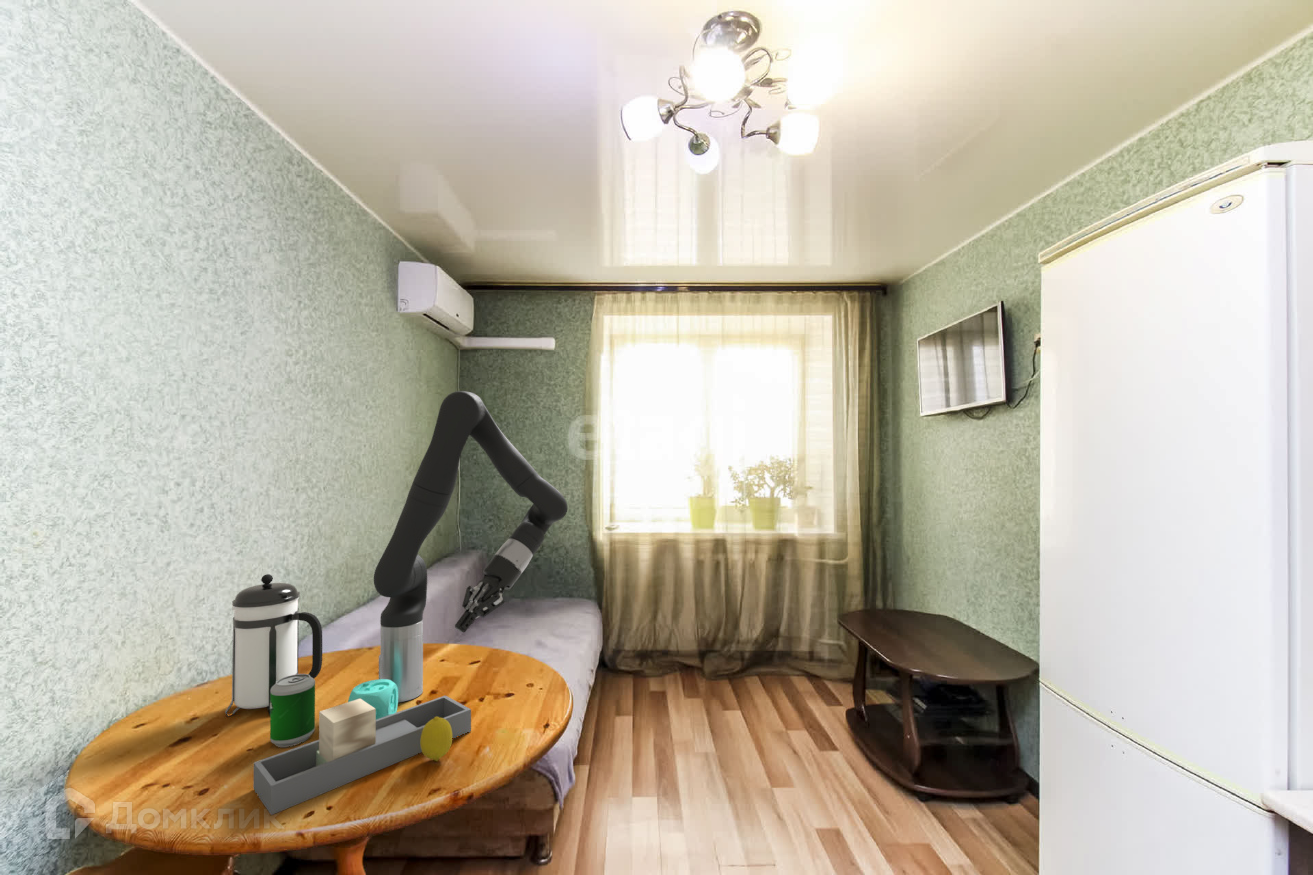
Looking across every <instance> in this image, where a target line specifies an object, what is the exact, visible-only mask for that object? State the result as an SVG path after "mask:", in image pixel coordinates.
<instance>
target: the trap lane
mask: <svg viewBox="0 0 1313 875" xmlns="http://www.w3.org/2000/svg"><path fill="white" fill-rule="evenodd" d="M436 716H438V717H440V718H444V719H446V720H447V721H448V722H449V724H450V726H451V729H452V738H455V739H457V738H458V737H457V736H460V735H462V734H464V735H466V734H465V733H467V732H469V733H471V732H472V709H471V708H469V707H467V706H465V705H464V704H463V703H460V702H458V701H456V700H455V699H453V698H451V697H449V696H447V695H442V696H440V697H437V698H434V699H432V700H429V701H428V700H427V701H425V702H422V703H420V704H418V705H415V706H411V707H409V708H406V709H402V710H400V711H397V712H396V713H394V714H391V715H388V716H385V717H382V718H379V719H377V720H376V744H374V745H371V746H369V747H366V748H363V749H361V750H358V751H355V752H353V753H350V754H348V755H345V756H342V757H340V758H337V759H334V760H332V761H329V762H327V761H326V760H325V759H324V758H323V757H322V756H321V755H320V754H319V739H317V740H314V741H312V742H309V743H305V744H303V745H300V746H296V747H294V748H291V749H289V750H286V751H282V752H280V753H277V754H275V755H272V756H268V757H265V758H263V759H259V760H258V761H255V762H253V779H252V780H253V789H254V790H255V791H254V790H253V789H252V790H253V791H254V793H255V794H256V793H257V794H258V795H257V794H256V795H257V797H258V796H259V797H258V799H259V800H260V801H261V802H262V804H263V806H264V807H265V808H266V810H267V812H269V814H270V816H272V815H275V814H277V813H280V812H283V811H285V810H286V809H289V808H292V807H294V806H296V805H298V804H299V805H300V804H301V803H303V802H306V801H308V800H311V799H313V798H316V797H319V796H320V795H323V794H325V793H327V792H330V791H332V790H334V789H336V788H339V787H342V786H345V785H347V784H349V783H352V782H354V781H356V780H359V779H360V778H363V777H366V776H368V775H371V774H374V773H375V772H377V771H380V770H383V769H385V768H388V767H389V766H390V767H391V766H392V765H394V764H397V763H399V762H402V761H404V760H406V759H409V758H411V757H414V756H417V755H418V753H419V754H421V753H423V752H422V750H421V745H420V739H421V734H422V731H423V728H424V726H425V725H426V724H427V723H428V722H429V721H430V720H432V719H434V718H435V717H436ZM470 731H471V732H470ZM467 734H468V733H467ZM462 736H463V735H462ZM456 737H457V738H456ZM460 737H461V736H460Z"/></svg>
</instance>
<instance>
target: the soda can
mask: <svg viewBox="0 0 1313 875" xmlns="http://www.w3.org/2000/svg"><path fill="white" fill-rule="evenodd" d="M308 674H309V673H298V674H296V675H290V676H287V677H284V678H281V679H279V680H278V681H277V682H276V684H275V685H273V686H272V688H271V698H270V715H269V716H270V720H269V721H270V722H269V724H270V726H269V741H270V742H271V743H272V744H273V745H275V746H276V747H277V746H278V747H277V748H290V747H294V746H297V744H298V745H300V744H302V743H305V742H306V741H308V739H310V737H311V736H312V734H313V733H314V732H315V730H316V713H315V712H316V679H315V678H312V677H310V675H308ZM301 742H302V743H301ZM299 743H300V744H299ZM293 745H294V746H293ZM289 746H290V747H289Z"/></svg>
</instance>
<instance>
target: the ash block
mask: <svg viewBox="0 0 1313 875" xmlns="http://www.w3.org/2000/svg"><path fill="white" fill-rule="evenodd" d="M318 714H319V715H318V716H319V719H318V729H319V730H318V740H319V754H320V755H321V756H322V757H323V758H324V759H325V760H326V761H327V762H329V761H332V760H334V759H337V758H340V757H342V756H345V755H348V754H350V753H353V752H355V751H358V750H361V749H363V748H366V747H369V746H371V745H374V744H376V709H375V708H374V707H372V706H371V705H369V704H368V703H366V702H365V701H363V700H362V699H357V700H354V701H350V702H348V701H347V702H344V703H342V704H339V705H335V706H332V707H329V708H326V709H323V710H320V711H319V712H318Z"/></svg>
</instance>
